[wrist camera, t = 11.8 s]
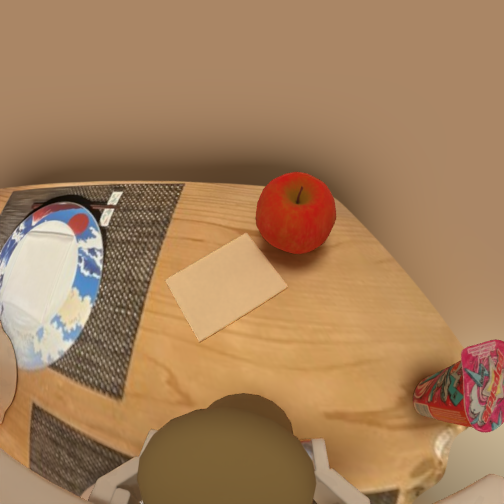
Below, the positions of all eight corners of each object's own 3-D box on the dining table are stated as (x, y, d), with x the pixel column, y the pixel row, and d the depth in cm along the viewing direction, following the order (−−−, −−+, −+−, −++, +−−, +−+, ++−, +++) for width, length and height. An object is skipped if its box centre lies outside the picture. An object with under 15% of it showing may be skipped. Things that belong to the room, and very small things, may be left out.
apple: (254, 271, 33) (250, 218, 24) (260, 215, 37) (258, 154, 28) (325, 276, 33) (347, 225, 23) (322, 219, 37) (338, 160, 27)
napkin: (199, 342, 29) (199, 341, 29) (165, 281, 33) (164, 279, 33) (288, 287, 32) (288, 286, 32) (246, 234, 36) (246, 232, 36)
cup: (458, 367, 25) (522, 344, 15) (445, 430, 21) (511, 429, 11) (403, 356, 27) (465, 331, 16) (386, 425, 23) (447, 433, 13)
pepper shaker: (212, 380, 16) (141, 356, 6) (305, 407, 15) (376, 423, 5) (183, 461, 13) (89, 522, 3) (276, 488, 12) (294, 590, 2)
